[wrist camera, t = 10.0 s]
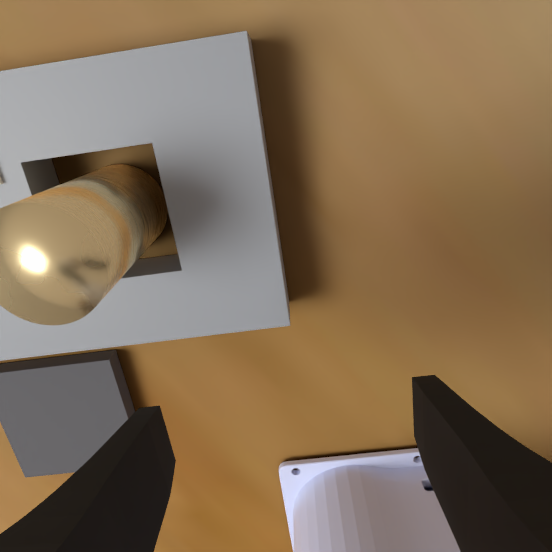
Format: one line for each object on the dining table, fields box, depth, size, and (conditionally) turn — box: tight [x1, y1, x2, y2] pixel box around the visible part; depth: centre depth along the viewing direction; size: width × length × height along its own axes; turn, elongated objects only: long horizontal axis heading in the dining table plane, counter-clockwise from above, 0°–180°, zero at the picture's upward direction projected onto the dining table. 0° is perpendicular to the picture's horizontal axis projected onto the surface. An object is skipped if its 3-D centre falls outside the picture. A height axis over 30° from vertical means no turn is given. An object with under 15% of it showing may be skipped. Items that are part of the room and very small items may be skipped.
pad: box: [0, 350, 135, 477], centre depth 25 cm, size 7×7×1 cm
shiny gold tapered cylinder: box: [0, 164, 168, 325], centre depth 18 cm, size 4×4×8 cm
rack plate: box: [0, 31, 290, 361], centre depth 20 cm, size 20×12×3 cm, turn 98°
